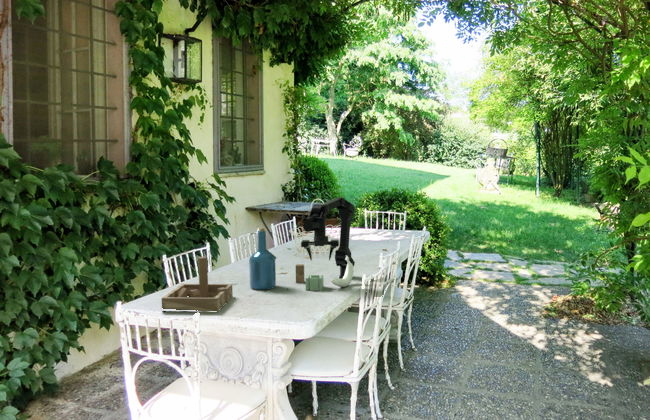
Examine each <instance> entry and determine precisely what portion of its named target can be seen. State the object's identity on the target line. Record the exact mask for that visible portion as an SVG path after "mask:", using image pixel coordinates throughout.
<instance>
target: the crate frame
mask: <svg viewBox="0 0 650 420" xmlns="http://www.w3.org/2000/svg"><path fill="white" fill-rule="evenodd" d="M222 287H224V288H227V289H228V300H229V301H231V299H232V298H233V293H234V292H233V284H232V283H208V294H209V298H190V297H187V298H184V297H176V296H177V294H178V293H179V292H180V290H181V289H182V288H185V289H187V296H190V290H195V289H197V290H199V283H181V284H180V285H179V286H177V287H176V288H174V289H173V290H171V291H170V292H168V293H167V294H165V295H164V296H162V297H161V309H162V308H163V309H176V310H196V311H197V310H198V311H218V310H219V309H220V308H221V307H222V306H223V305H224V304H225V303H226V291H221V292H220V293H219V294H218V295H217V289H218V288H222ZM199 292H200V290H199ZM225 305H226V304H225ZM225 305H224V306H225ZM224 306H223V307H224ZM223 307H222V308H223ZM222 308H221V309H222ZM221 309H220V310H221ZM220 310H219V311H220ZM219 311H218V312H219Z"/></svg>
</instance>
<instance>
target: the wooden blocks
mask: <svg viewBox="0 0 650 420" xmlns="http://www.w3.org/2000/svg"><path fill="white" fill-rule="evenodd" d="M197 263H198V264H197V265H198V284H199V290H200V292H199V290H197V289H195V290H190V297H189V298H210V297H209V294H208V284H209V277H208V274H209V273H208V257H207V256H198V259H197ZM221 291H226V303H227V304H229V301H228V289H227V288H224V287H222V288H218V289H217V295H218V294H219V293H220V292H221ZM176 297H184V298H188V297H187V289H185V288H182V289H181V290H180V292H179V293H178V294H177V296H176Z"/></svg>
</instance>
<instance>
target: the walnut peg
mask: <svg viewBox="0 0 650 420" xmlns="http://www.w3.org/2000/svg"><path fill="white" fill-rule="evenodd" d="M304 283H305V264H299V263H298V264H296V265H295V284H304Z"/></svg>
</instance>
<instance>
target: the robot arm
mask: <svg viewBox="0 0 650 420" xmlns="http://www.w3.org/2000/svg"><path fill="white" fill-rule="evenodd" d="M334 209H336V210H337V212H338V216H339V219H340V231H339V233H340V234H339V235H340V236H339V239H330V240H329V235H326V234H327V233H326V231H327V230H326V229H327V227H326V220H328V217H327V215H328V214H329V212H330V211H331V210H334ZM355 211H356V208H355V206H354V204H353V203H352V202H351V201H349V200H347V199H345V197H343V196H342V197H341V196H339V197H337V196H336V197H334V198H333V199H330V200H327V201H326V202H324V203H314V204H312V207H311V209H310V210H309V214H308V216H307V217H306V219H305V220H304V221H303V224H302V228H303V230H304V231H305V232H307V233H310V232H313V235H314V236H313V241H310V239H302V240H301V242H300V247H301V248H303V249H305V250H306V252H307V253H308V256H309V259H310V261H312V259H313V257H312V249H311V246H314V247H324V246H330V247H329V256H328V260H329V261H331V258H332V255H333V252H334V249H335V252H334V253H335V255H334V259H335V265H336V267H339V274H340V275H339V277H338V278H340V279H342V278H343V277H344V274H345V271H346V267H347V261H346V260H345V258H346V255H347V256H348V257H349V261H350V262H351V263H352V265H353V267H355V260H354V259H353V257H352V252H351V250H350V232H351V231H350V230H351V222H352V221H351V220H352V219H353V217H354V216H355ZM337 248H338V249H337Z"/></svg>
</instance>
